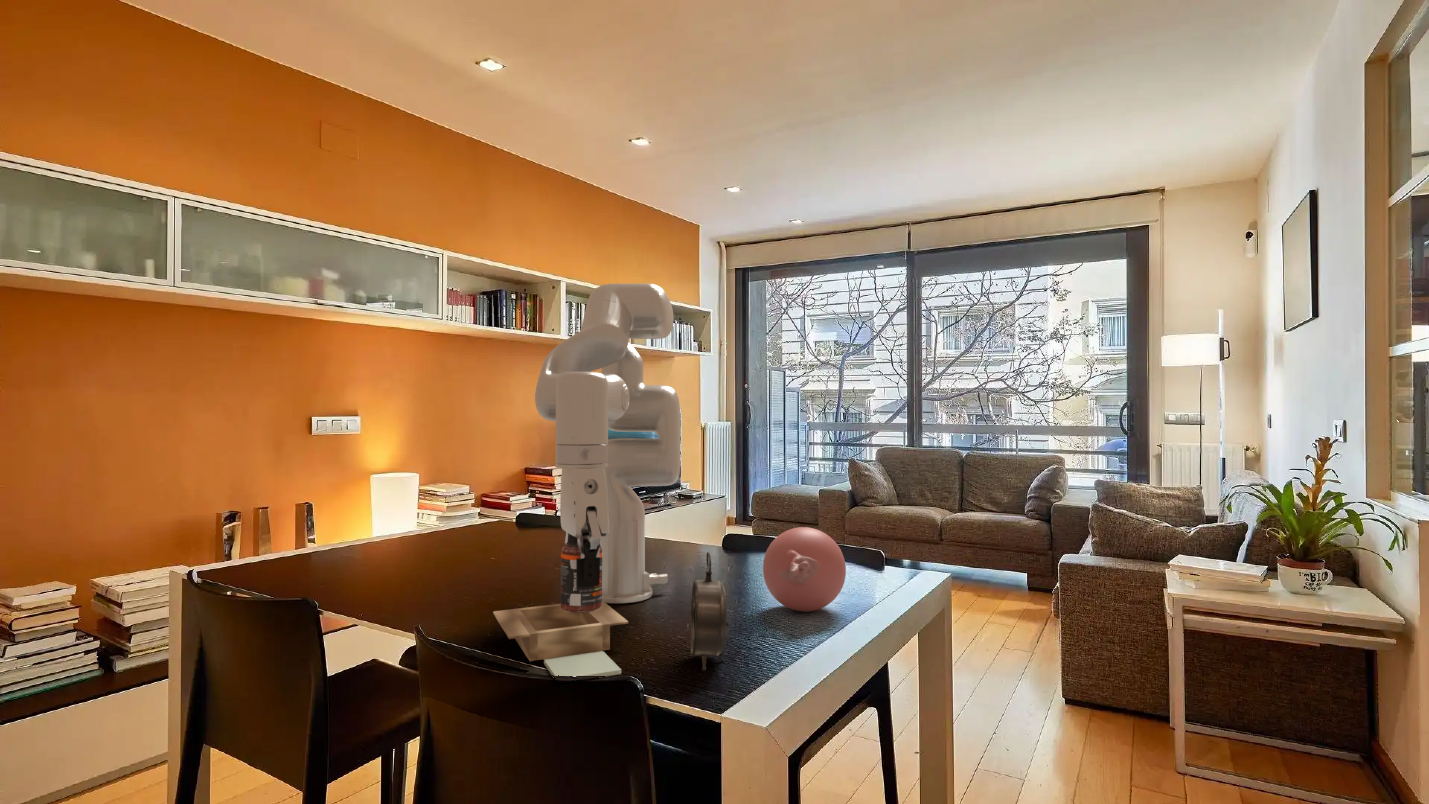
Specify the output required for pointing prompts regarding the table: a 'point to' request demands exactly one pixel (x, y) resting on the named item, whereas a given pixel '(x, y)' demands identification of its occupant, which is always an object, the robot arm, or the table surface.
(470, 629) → the table surface
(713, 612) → the alarm clock
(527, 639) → the carton
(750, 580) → the table surface
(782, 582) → the salmon rubber sphere
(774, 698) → the table surface
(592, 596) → the supplement bottle
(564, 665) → the coaster
